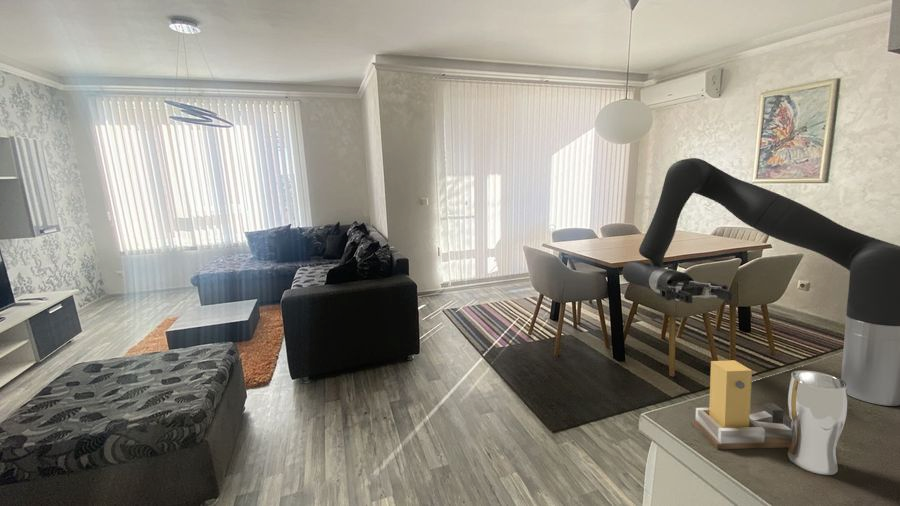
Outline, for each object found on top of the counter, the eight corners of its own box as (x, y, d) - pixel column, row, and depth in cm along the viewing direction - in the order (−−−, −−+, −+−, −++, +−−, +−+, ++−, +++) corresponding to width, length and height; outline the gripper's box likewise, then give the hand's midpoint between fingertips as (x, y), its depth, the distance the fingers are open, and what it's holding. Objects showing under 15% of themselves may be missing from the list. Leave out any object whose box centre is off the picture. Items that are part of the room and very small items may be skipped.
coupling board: (773, 421, 75) (774, 402, 74) (809, 446, 67) (810, 426, 67) (691, 423, 76) (692, 405, 75) (716, 449, 68) (717, 428, 67)
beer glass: (783, 444, 68) (788, 366, 66) (838, 459, 64) (845, 376, 62) (785, 466, 63) (790, 382, 61) (845, 484, 59) (852, 394, 57)
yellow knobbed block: (729, 421, 74) (732, 358, 73) (751, 438, 69) (754, 371, 67) (706, 421, 74) (709, 359, 73) (726, 439, 69) (729, 372, 67)
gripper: (643, 271, 100) (677, 283, 84) (697, 267, 99) (743, 278, 83) (643, 299, 101) (678, 316, 84) (697, 295, 100) (743, 311, 84)
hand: (710, 297), depth 84 cm, fingers open, 8 cm apart
